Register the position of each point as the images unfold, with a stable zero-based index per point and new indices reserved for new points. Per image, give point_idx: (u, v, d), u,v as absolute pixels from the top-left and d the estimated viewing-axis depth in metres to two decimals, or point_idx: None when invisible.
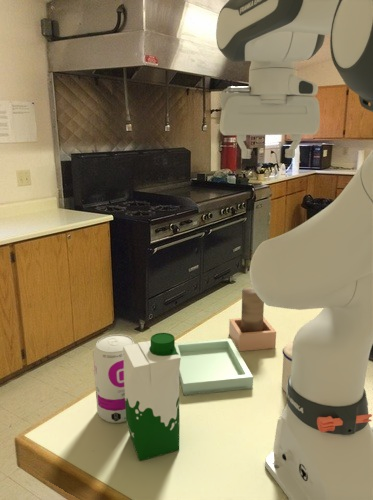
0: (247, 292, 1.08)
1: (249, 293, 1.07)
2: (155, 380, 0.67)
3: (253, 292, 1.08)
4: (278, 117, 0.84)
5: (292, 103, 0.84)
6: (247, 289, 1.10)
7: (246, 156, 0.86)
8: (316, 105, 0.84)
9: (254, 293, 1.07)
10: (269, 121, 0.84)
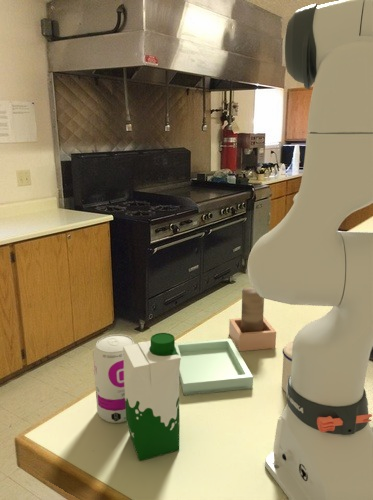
0: (247, 292, 1.08)
1: (249, 293, 1.07)
2: (155, 380, 0.67)
3: (253, 292, 1.08)
4: None
5: None
6: (247, 289, 1.10)
7: None
8: None
9: (254, 293, 1.07)
10: None
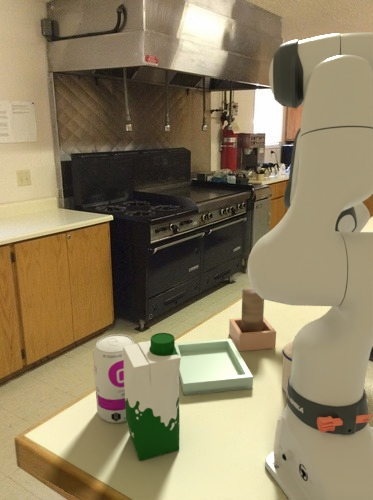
0: (248, 292, 1.08)
1: (249, 293, 1.07)
2: (155, 380, 0.67)
3: (253, 292, 1.08)
4: None
5: None
6: (247, 289, 1.10)
7: None
8: None
9: (254, 293, 1.07)
10: None
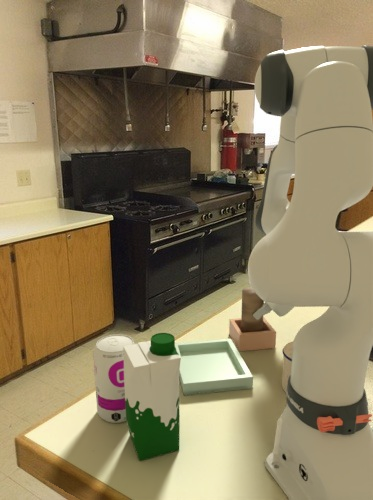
0: (247, 292, 1.08)
1: (249, 293, 1.07)
2: (155, 380, 0.67)
3: (253, 292, 1.08)
4: None
5: None
6: (247, 289, 1.10)
7: None
8: None
9: (254, 293, 1.07)
10: None
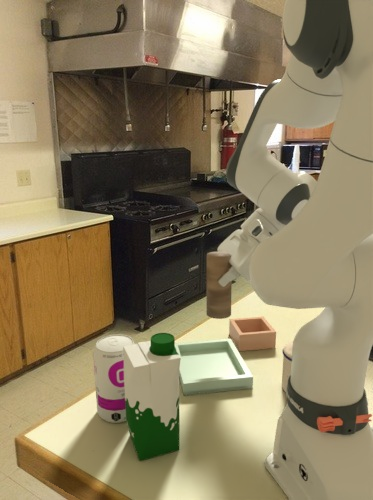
0: (212, 255, 0.93)
1: (214, 256, 0.92)
2: (155, 380, 0.67)
3: (219, 255, 0.93)
4: (237, 249, 0.93)
5: (248, 242, 0.90)
6: (213, 253, 0.95)
7: None
8: (252, 248, 0.85)
9: (219, 256, 0.92)
10: (232, 250, 0.95)
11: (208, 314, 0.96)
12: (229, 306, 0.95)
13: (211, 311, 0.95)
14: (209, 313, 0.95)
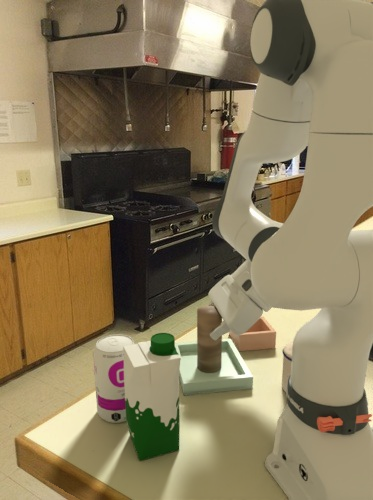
0: (203, 312, 0.94)
1: (204, 313, 0.93)
2: (155, 380, 0.67)
3: (209, 312, 0.94)
4: (228, 299, 0.94)
5: (238, 294, 0.91)
6: (203, 308, 0.96)
7: None
8: (242, 303, 0.86)
9: (210, 313, 0.94)
10: (223, 299, 0.96)
11: (199, 368, 0.97)
12: (220, 360, 0.96)
13: (202, 366, 0.96)
14: (200, 367, 0.97)
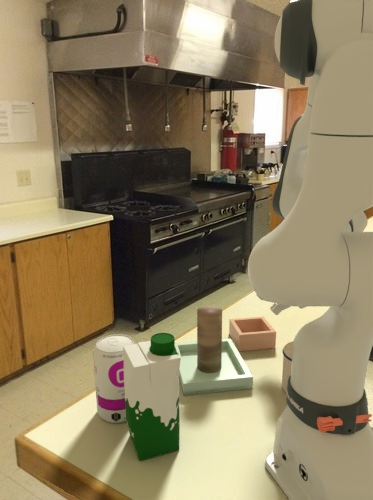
0: (203, 312, 0.94)
1: (204, 313, 0.93)
2: (155, 380, 0.67)
3: (209, 312, 0.94)
4: None
5: None
6: (203, 308, 0.96)
7: (257, 294, 1.03)
8: None
9: (210, 313, 0.94)
10: None
11: (199, 368, 0.97)
12: (220, 360, 0.96)
13: (202, 366, 0.96)
14: (200, 367, 0.97)
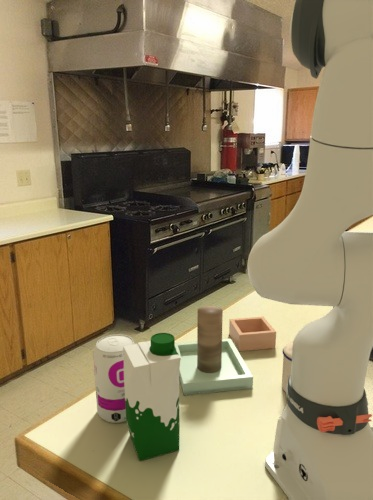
0: (203, 312, 0.94)
1: (205, 313, 0.93)
2: (155, 380, 0.67)
3: (210, 312, 0.94)
4: None
5: None
6: (203, 308, 0.96)
7: None
8: None
9: (210, 313, 0.94)
10: None
11: (199, 368, 0.97)
12: (220, 360, 0.96)
13: (202, 366, 0.96)
14: (200, 367, 0.97)
